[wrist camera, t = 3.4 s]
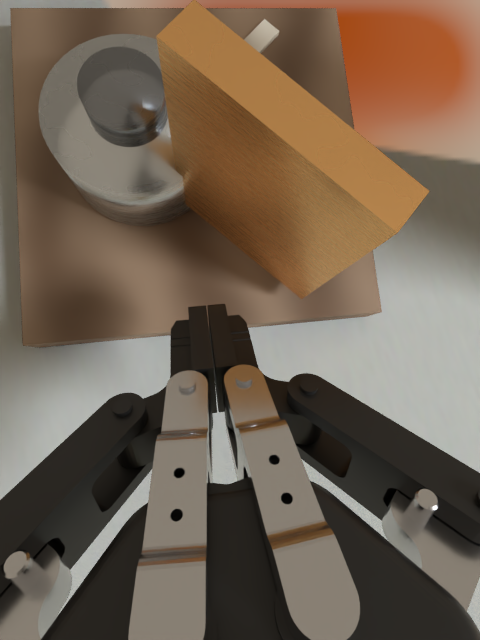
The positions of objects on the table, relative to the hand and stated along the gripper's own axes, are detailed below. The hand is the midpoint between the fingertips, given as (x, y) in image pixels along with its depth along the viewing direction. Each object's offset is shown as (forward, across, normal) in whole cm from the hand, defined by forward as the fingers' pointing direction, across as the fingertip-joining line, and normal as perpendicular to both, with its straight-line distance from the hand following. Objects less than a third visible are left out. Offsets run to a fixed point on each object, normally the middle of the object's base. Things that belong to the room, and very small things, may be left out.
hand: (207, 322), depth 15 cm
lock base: (+13, 0, -2) cm, 13 cm away
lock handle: (+9, 0, -2) cm, 9 cm away
